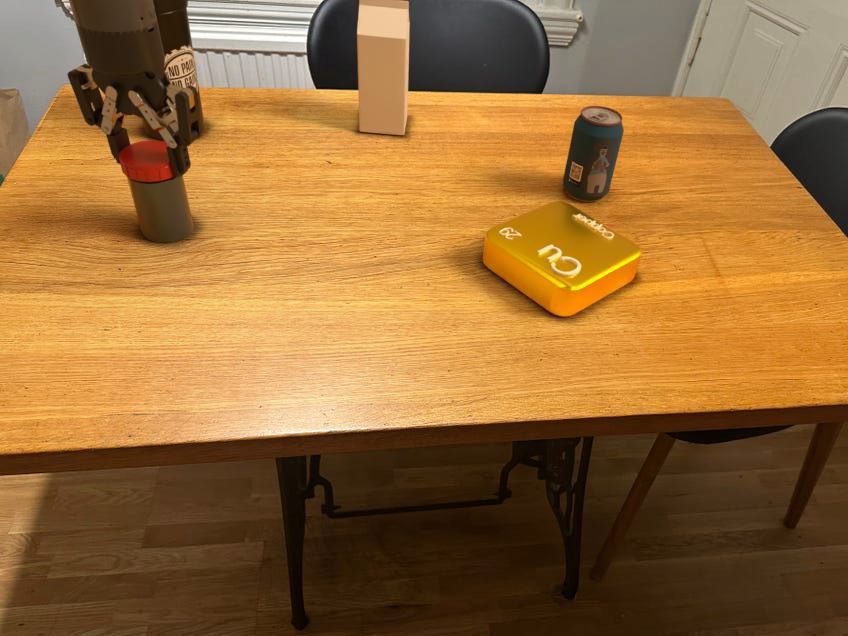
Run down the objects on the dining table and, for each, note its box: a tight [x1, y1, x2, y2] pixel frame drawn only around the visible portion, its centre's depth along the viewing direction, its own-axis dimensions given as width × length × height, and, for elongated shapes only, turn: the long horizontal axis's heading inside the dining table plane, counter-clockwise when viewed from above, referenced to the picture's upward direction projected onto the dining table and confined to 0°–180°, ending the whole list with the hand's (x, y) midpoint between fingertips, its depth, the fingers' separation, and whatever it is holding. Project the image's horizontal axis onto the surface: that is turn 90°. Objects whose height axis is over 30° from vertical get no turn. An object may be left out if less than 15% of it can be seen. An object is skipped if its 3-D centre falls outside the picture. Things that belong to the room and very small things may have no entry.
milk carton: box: [356, 0, 411, 136], centre depth 107 cm, size 7×7×19 cm
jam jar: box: [126, 175, 195, 244], centre depth 83 cm, size 6×6×10 cm
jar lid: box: [119, 139, 174, 182], centre depth 80 cm, size 6×6×2 cm
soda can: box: [562, 105, 625, 203], centre depth 99 cm, size 7×7×12 cm
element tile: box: [482, 200, 643, 317], centre depth 87 cm, size 15×15×5 cm
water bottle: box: [141, 0, 206, 141], centre depth 98 cm, size 10×10×23 cm
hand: (153, 167), depth 81 cm, fingers closed on jar lid, 6 cm apart
